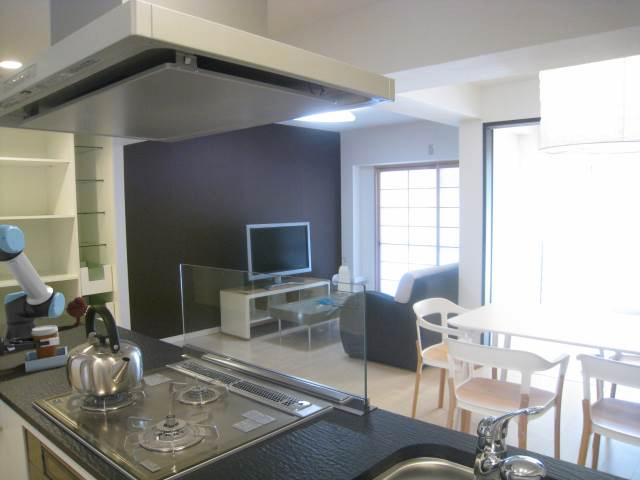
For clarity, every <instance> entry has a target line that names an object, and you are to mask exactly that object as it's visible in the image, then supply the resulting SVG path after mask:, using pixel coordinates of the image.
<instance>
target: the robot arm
mask: <svg viewBox="0 0 640 480" xmlns="http://www.w3.org/2000/svg"><path fill="white" fill-rule="evenodd" d="M25 245H26V240H25V234H24V233H23V231H22V230H21V229H20V227H17V226H16V225H13V224H0V263H3V265H4V266H5V267H6V268H7V270H8V272H9V273H10V274H11V276H12V277H13V278H14V280H15V281H16V282H17V284H18V285H19V287H20V288H21V289H22V291H18V292H12V293H8V294H7V295H5V297H4V312H5V321H6V327H5V332H4V336H0V357H1V358H2V357H5V355H6V352H7V351H8V353H15V352H22V351H31V350H32V351H33V350H36V349H38V350H39V349H41V348H40V346H41V347H44V346H51V345H56V346H57V345H60V332H57V337H56V338H49V339H42V340H40V341H34V339H33V335H32V334H31V332H32V329H34V328H36V327H38V325H37V323H36V319H52V318H53V319H55V318H58V317H60V316H61V315H62V313H63V312H64V309H65V307H66V298H65V295H64V294H63V293H62V292H59V291H58V292H55V291H54V289H53V287H52V286H50V285H46V284H45V282H44V281H43V279H42V278H41V276H40V275H39V274H38V272H37V270H36V269H35V268H34V266H33V264H32V263H31V262H30V260H29V259H28V257H27V256H26V254H25V252H24V250H25Z"/></svg>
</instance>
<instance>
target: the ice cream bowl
mask: <svg viewBox="0 0 640 480" xmlns="http://www.w3.org/2000/svg"><path fill="white" fill-rule="evenodd" d="M88 307H89V308H90V306H89V305H88V304H87V303H86V300H85V298H84V297H82V296H76V297H75V298H74V299H72V300H70V301H69V303H67V306H66V308H65V311H66V313H67V314H68V315H69V316H71V317H72V318H75V319H76V322H75V323H73V324H72V326H73V325H74V326H73V327H80V326H79V325H82V326H84V325H85V323H84V322H82V321H81V317H83V316H85V315H86V314H87V313H86V310H87V308H88ZM85 313H86V314H85ZM83 324H84V325H83Z"/></svg>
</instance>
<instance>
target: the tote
mask: <svg viewBox="0 0 640 480" xmlns="http://www.w3.org/2000/svg"><path fill="white" fill-rule="evenodd" d="M67 354H69V353H68V346H60V347H56V356H55V357H50V358H43V359H38V357H37V352H36V350H32V351H28V352H26V354H25V359H24V366H25V367H24V368H25V373H30V372H35V371H41V370H47V369H48V370H49V369H54V368H59V367H66V366H65V362H66V357H67Z"/></svg>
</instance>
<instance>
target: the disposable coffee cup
mask: <svg viewBox="0 0 640 480" xmlns="http://www.w3.org/2000/svg"><path fill="white" fill-rule="evenodd" d="M58 330H59V328H58V325H56V324H55V325H54V324H52V325H51V324H50V325H42V326H37V327H36V328H34V329H32V332H31V334H32V335H33V339H34V341H40V340H42V339H49V338H56V337H57V333H58ZM40 348H41V349H39V350H38V349H35V351H36V352H37V357H38V359H43V358H50V357H55V356H56V348H57V345H51V346H44V347H41V346H40Z"/></svg>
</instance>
